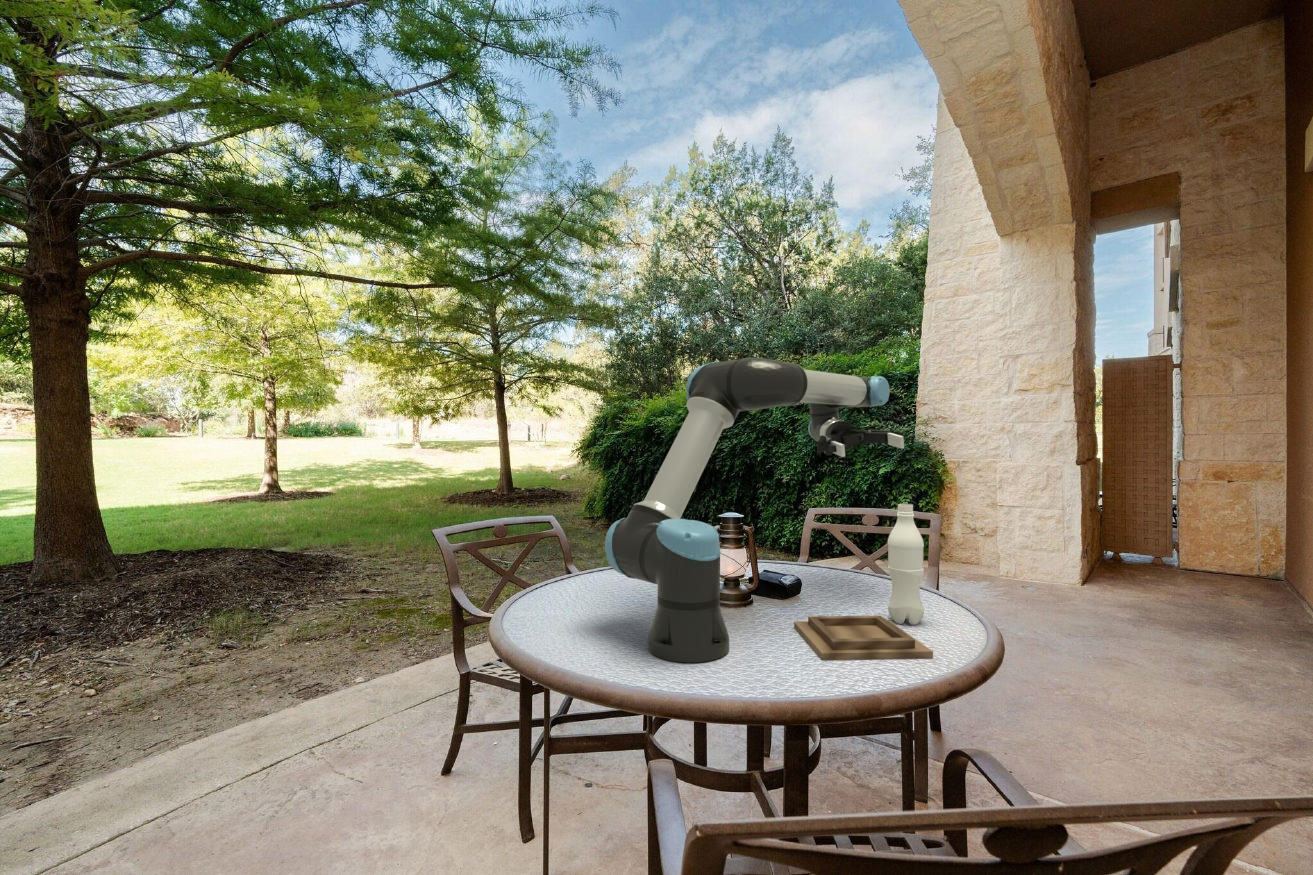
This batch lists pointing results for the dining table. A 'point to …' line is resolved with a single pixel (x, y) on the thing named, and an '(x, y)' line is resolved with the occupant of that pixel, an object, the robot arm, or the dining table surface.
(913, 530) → the water bottle
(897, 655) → the walnut tray
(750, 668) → the dining table surface
